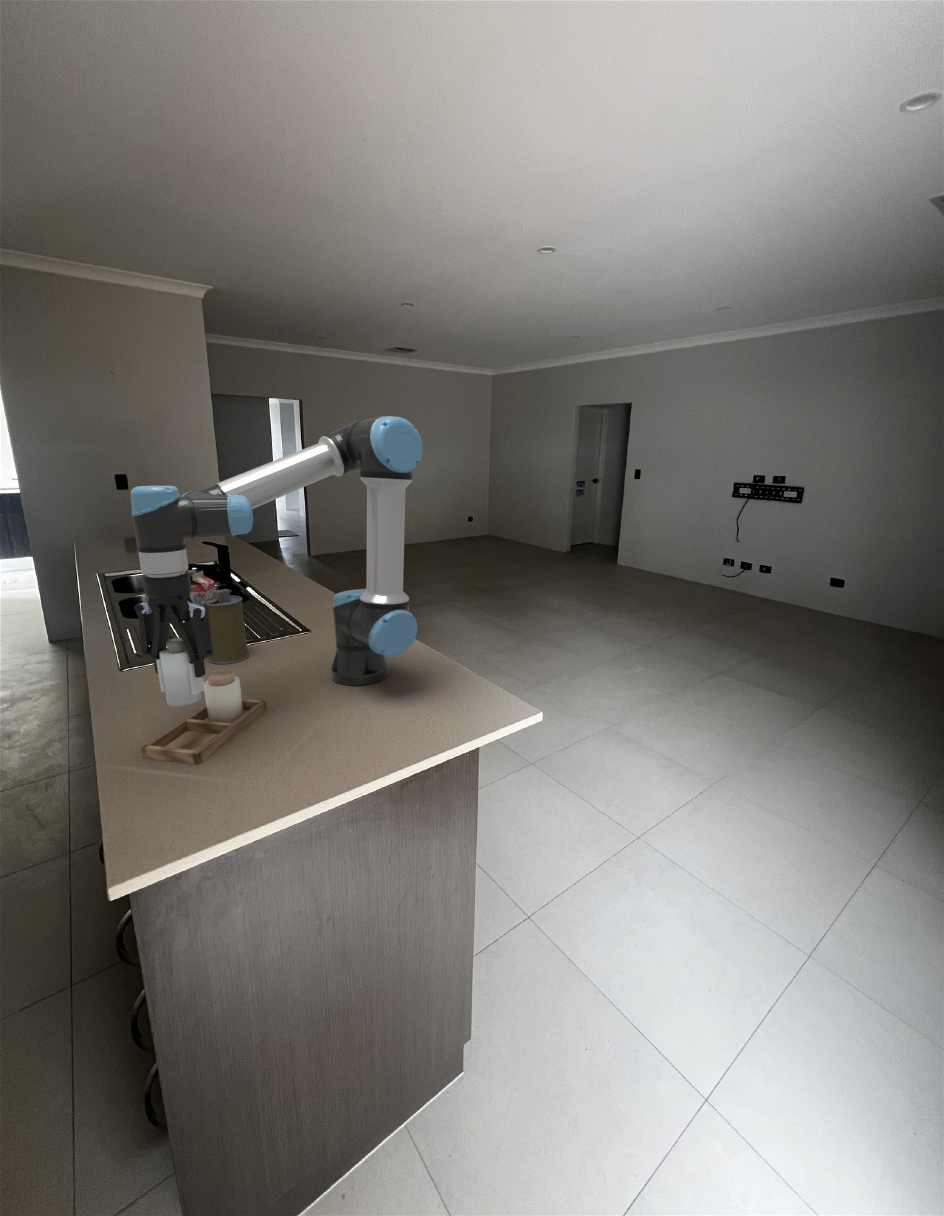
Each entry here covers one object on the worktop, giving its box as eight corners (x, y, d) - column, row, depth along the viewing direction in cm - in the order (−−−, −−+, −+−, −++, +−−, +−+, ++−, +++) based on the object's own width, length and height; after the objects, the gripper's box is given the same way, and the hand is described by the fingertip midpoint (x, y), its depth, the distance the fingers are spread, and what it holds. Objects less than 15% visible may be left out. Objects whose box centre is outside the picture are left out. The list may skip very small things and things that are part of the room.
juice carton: (221, 637, 173) (213, 570, 167) (212, 644, 167) (203, 575, 161) (200, 637, 173) (191, 570, 167) (191, 644, 167) (181, 575, 161)
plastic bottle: (187, 707, 101) (178, 647, 98) (159, 704, 102) (150, 644, 99) (208, 694, 107) (200, 636, 104) (181, 691, 108) (173, 634, 105)
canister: (237, 649, 163) (229, 584, 158) (255, 657, 157) (248, 590, 151) (201, 659, 155) (191, 591, 149) (219, 667, 149) (209, 597, 143)
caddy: (267, 713, 122) (265, 701, 122) (199, 768, 101) (197, 754, 100) (219, 708, 125) (218, 696, 124) (143, 761, 103) (141, 747, 102)
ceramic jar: (250, 713, 120) (245, 671, 117) (231, 728, 114) (225, 684, 111) (222, 711, 122) (216, 669, 119) (201, 725, 115) (195, 681, 112)
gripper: (225, 571, 100) (239, 687, 106) (136, 566, 103) (154, 679, 109) (198, 579, 92) (214, 703, 99) (103, 574, 96) (125, 694, 102)
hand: (183, 690), depth 104 cm, fingers closed on plastic bottle, 6 cm apart
